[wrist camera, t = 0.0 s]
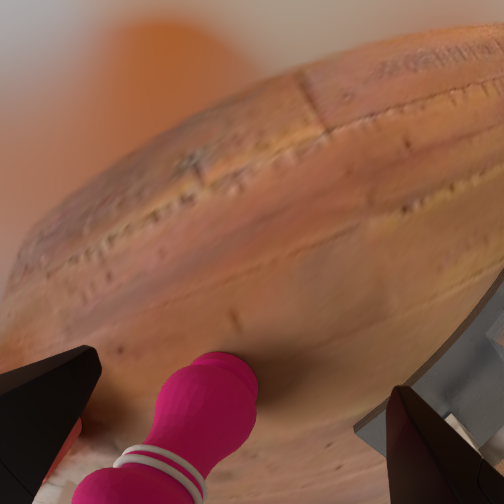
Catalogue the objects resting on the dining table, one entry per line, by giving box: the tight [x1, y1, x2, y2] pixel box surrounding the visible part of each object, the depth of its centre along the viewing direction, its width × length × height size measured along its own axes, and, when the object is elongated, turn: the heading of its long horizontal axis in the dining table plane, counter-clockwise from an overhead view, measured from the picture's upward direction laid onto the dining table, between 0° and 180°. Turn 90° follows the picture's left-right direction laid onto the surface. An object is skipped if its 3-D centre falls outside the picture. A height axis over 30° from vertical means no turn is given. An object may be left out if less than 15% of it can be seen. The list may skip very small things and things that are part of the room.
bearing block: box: [353, 269, 504, 457], centre depth 15 cm, size 20×16×10 cm
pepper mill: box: [72, 352, 258, 504], centre depth 15 cm, size 7×7×20 cm
